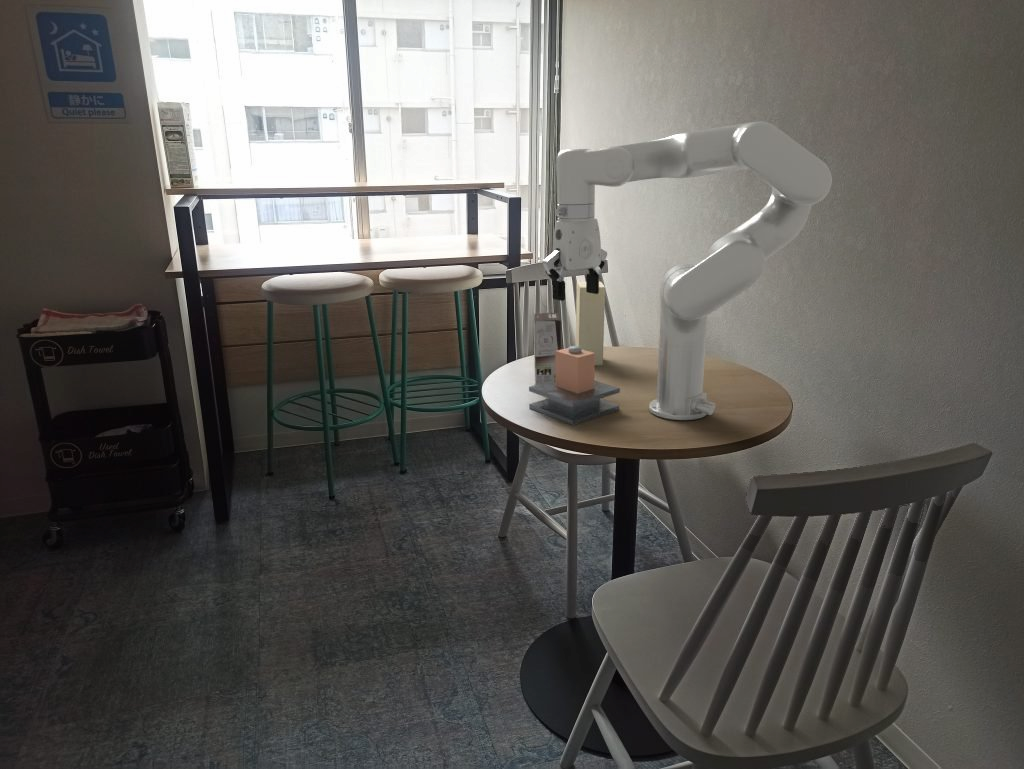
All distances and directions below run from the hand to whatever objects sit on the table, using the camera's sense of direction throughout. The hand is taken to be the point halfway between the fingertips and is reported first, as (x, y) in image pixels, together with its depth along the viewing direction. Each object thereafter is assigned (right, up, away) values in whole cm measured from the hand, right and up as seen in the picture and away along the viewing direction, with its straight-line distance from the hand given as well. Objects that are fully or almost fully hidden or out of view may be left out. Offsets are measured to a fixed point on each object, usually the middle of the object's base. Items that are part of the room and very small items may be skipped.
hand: (576, 296), depth 152 cm
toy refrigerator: (+8, -12, +43) cm, 45 cm away
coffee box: (-5, -17, +29) cm, 34 cm away
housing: (0, -19, +6) cm, 20 cm away
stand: (0, -24, +8) cm, 25 cm away
